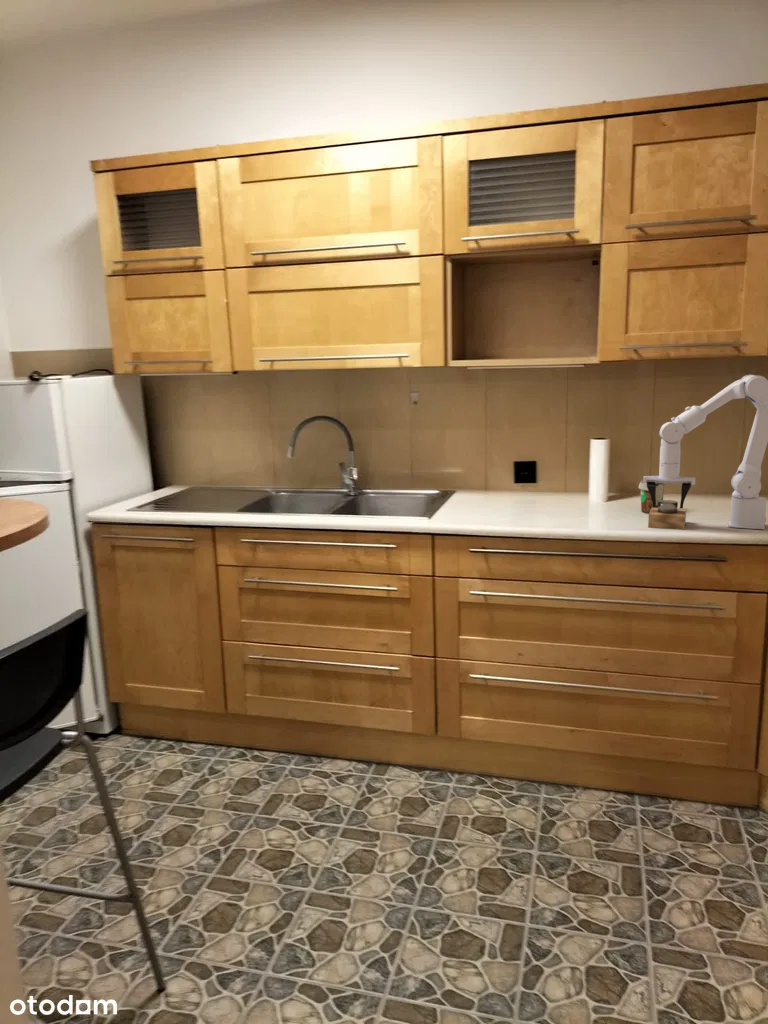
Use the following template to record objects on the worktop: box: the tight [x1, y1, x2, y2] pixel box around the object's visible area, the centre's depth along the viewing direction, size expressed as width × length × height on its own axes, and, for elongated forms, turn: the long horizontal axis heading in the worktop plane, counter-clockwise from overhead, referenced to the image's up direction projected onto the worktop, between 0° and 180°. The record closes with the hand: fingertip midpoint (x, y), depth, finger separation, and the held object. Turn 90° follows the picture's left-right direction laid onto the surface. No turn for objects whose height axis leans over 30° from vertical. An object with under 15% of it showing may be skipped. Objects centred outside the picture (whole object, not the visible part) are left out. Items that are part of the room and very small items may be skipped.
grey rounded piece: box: [658, 499, 679, 514], centre depth 225 cm, size 6×6×6 cm
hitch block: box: [647, 508, 687, 530], centre depth 225 cm, size 10×10×4 cm
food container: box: [638, 479, 666, 515], centre depth 244 cm, size 12×6×10 cm, turn 141°
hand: (667, 507), depth 224 cm, fingers open, 7 cm apart
